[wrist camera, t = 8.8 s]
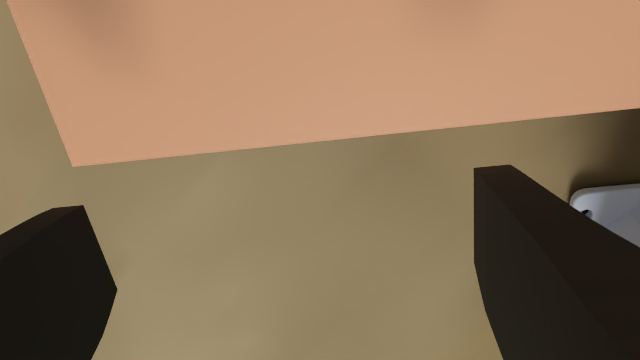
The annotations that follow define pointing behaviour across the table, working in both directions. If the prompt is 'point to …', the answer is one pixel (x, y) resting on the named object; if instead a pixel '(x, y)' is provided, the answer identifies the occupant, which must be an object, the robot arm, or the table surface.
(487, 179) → the robot arm
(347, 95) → the lid
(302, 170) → the table surface
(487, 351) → the table surface
